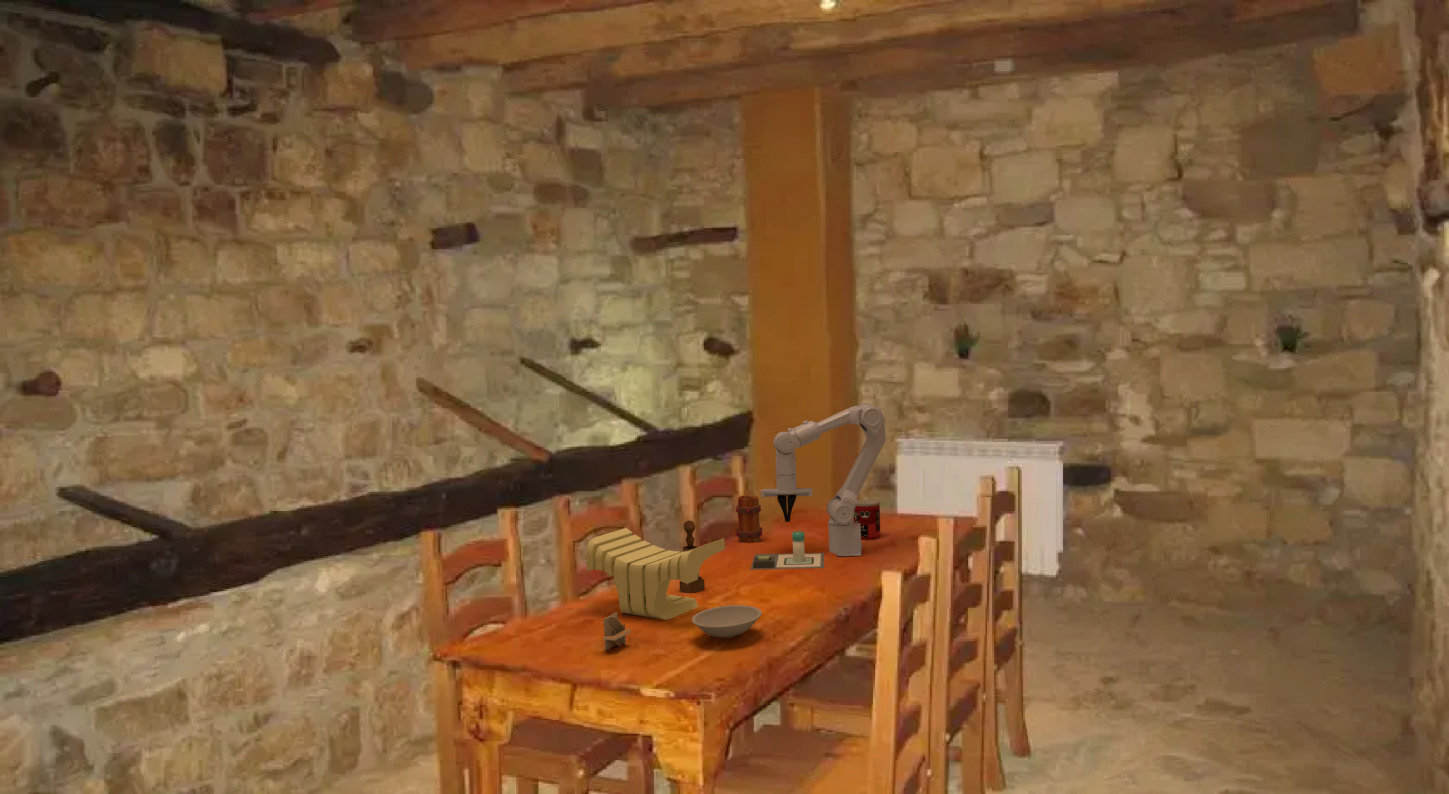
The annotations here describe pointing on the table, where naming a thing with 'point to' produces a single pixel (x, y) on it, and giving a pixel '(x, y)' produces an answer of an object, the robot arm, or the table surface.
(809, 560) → the colouring board
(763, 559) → the button
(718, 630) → the dish
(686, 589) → the brown tall knobbed piece
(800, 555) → the marker
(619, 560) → the slatted curved stool
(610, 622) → the architectural model
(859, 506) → the canned food
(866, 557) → the table surface
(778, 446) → the robot arm
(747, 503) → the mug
